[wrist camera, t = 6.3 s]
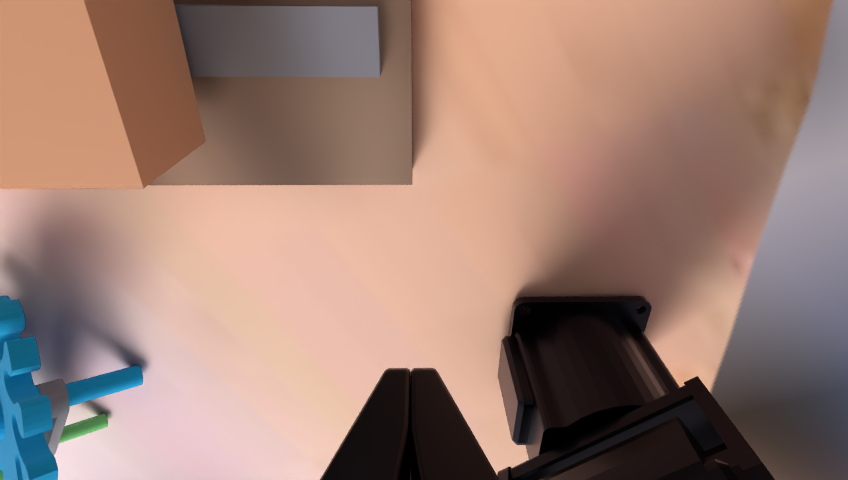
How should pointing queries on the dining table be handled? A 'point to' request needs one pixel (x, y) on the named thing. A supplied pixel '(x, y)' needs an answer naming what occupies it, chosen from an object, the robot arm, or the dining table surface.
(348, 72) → the base
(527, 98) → the dining table surface
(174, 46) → the sliding jaw
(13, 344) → the gear
